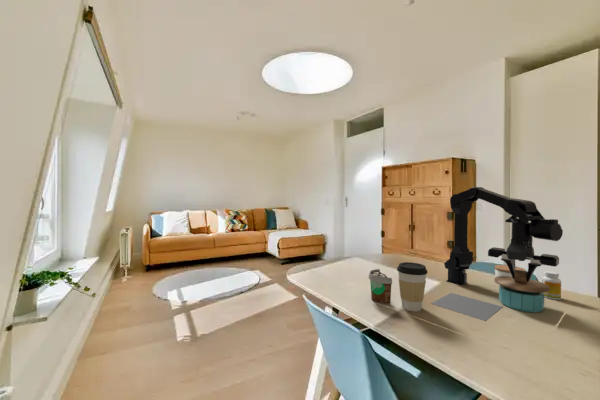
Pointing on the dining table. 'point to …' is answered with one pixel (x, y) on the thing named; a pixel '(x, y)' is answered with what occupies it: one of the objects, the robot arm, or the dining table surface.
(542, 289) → the lid
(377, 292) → the food container
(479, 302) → the mat
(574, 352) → the dining table surface
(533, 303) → the bowl
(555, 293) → the supplement bottle
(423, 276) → the coffee cup
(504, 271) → the lidded jar
